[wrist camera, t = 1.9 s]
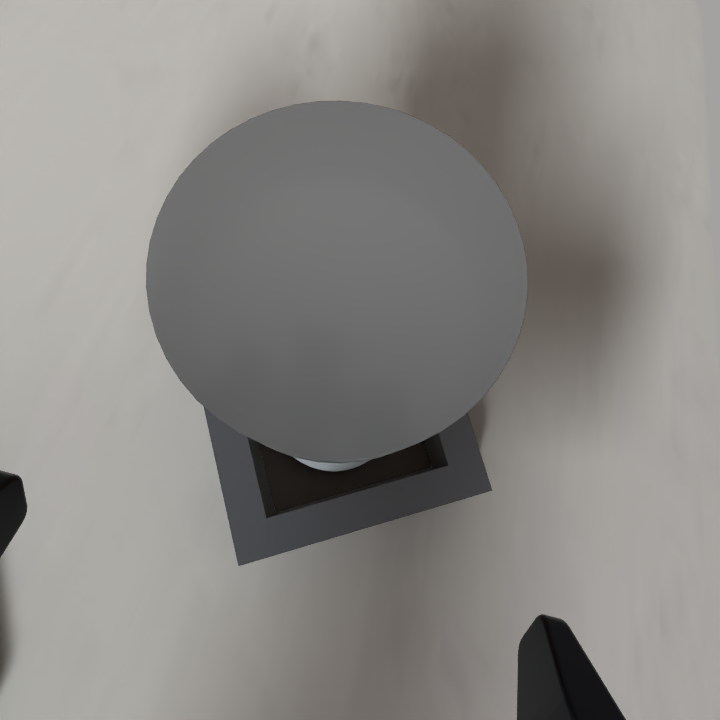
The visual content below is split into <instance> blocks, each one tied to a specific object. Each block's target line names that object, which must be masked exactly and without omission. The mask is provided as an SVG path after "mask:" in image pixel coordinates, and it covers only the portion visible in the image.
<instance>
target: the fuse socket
mask: <svg viewBox="0 0 720 720" xmlns="http://www.w3.org/2000/svg"><path fill="white" fill-rule="evenodd" d="M204 410H205V415H206V419H207V424H208V428H209V433H210V437H211V442H212V447H213V451H214V456H215V460H216V465H217V469H218V474H219V479H220V483H221V488H222V492H223V497H224V501H225V506H226V511H227V515H228V520H229V524H230V529H231V533H232V538H233V543H234V547H235V552H236V556H237V561H238V566H240V565H244V564H247V563H250V562H254V561H257V560H260V559H264V558H267V557H270V556H274V555H277V554H280V553H284V552H287V551H291V550H294V549H297V548H301V547H304V546H307V545H311V544H314V543H317V542H321V541H324V540H327V539H331V538H334V537H337V536H341V535H344V534H348V533H351V532H354V531H358V530H361V529H364V528H368V527H371V526H374V525H378V524H381V523H384V522H388V521H391V520H394V519H398V518H401V517H405V516H408V515H411V514H415V513H418V512H421V511H425V510H428V509H431V508H435V507H438V506H441V505H445V504H448V503H451V502H455V501H458V500H462V499H465V498H468V497H472V496H475V495H478V494H482V493H485V492H488V491H492V488H491V485H490V482H489V479H488V476H487V473H486V470H485V466H484V463H483V460H482V457H481V454H480V451H479V448H478V445H477V442H476V438H475V435H474V432H473V429H472V426H471V423H470V420H469V417H468V413H466V414H465V415H464V416H463V417H461V418H460V419H458V420H457V421H456V422H454V423H453V424H451V425H450V426H448V427H447V428H446V429H444V430H443V431H441V432H439V433H437V434H435V435H433V436H431V437H429V438H428V439H426V440H424V442H425V445H426V448H427V452H428V455H429V458H430V462H431V465H432V467H431V468H427V469H424V470H420V471H417V472H413V473H410V474H407V475H403V476H400V477H396V478H393V479H389V480H386V481H382V482H379V483H375V484H372V485H369V486H365V487H362V488H358V489H355V490H351V491H348V492H344V493H341V494H337V495H334V496H330V497H327V498H324V499H320V500H317V501H313V502H310V503H306V504H303V505H299V506H296V507H292V508H289V509H286V510H282V511H279V512H275V507H274V503H273V499H272V495H271V491H270V486H269V482H268V478H267V474H266V469H265V465H264V461H263V457H262V453H261V448H260V444H259V442H257V441H255V440H253V439H251V438H249V437H247V436H245V435H243V434H241V433H239V432H237V431H236V430H234V429H233V428H231V427H230V426H228V425H227V424H225V423H224V422H222V421H221V420H219V419H218V418H216V417H215V416H214V415H213V414H212V413H211V412H210V411H208V410H207V409H206V408H205V407H204Z"/></svg>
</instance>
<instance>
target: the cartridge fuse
mask: <svg viewBox="0 0 720 720" xmlns="http://www.w3.org/2000/svg"><path fill="white" fill-rule="evenodd" d="M146 289H147V297H148V304H149V312H150V315H151V319H152V322H153V326H154V330H155V333H156V336H157V339H158V341H159V343H160V345H161V348H162V350H163V352H164V354H165V357H166V359H167V360H168V362H169V363H170V365H171V367H172V368H173V370H174V371H175V373H176V375H177V376H178V378H179V379H180V381H181V382H182V383H183V384H184V386H185V387H186V388H187V389H188V390H189V391H190V393H191V394H192V395H193V396H194V397H195V399H196V400H197V401H198V402H200V403H201V404H202V405H203V406H204V407H205V408H206V409H207V410H208V411H210V412H211V413H212V414H213V415H214V416H215V417H216V418H218V419H219V420H221V421H222V422H224V423H225V424H227V425H228V426H230V427H231V428H233V429H234V430H236V431H237V432H239V433H241V434H243V435H245V436H247V437H249V438H251V439H253V440H255V441H257V442H259V443H261V444H263V445H265V446H267V447H269V448H272V449H274V450H276V451H278V452H280V453H283V454H286V455H289V456H292V457H294V458H295V459H297V460H298V461H300V462H301V463H303V464H306V465H308V466H310V467H312V468H315V469H318V470H323V471H332V472H336V471H345V470H349V469H352V468H355V467H358V466H360V465H362V464H364V463H366V462H368V461H369V460H371V459H376V458H380V457H383V456H385V455H388V454H391V453H394V452H397V451H399V450H402V449H404V448H407V447H410V446H412V445H415V444H417V443H420V442H422V441H424V440H426V439H428V438H429V437H431V436H433V435H435V434H437V433H439V432H441V431H443V430H444V429H446V428H447V427H448V426H450V425H451V424H453V423H454V422H456V421H457V420H458V419H460V418H461V417H463V416H464V415H465V414H466V413H467V412H468V411H469V410H470V409H471V408H472V407H473V406H474V405H476V404H477V403H478V402H479V401H480V400H481V399H482V398H483V396H484V395H485V394H486V393H487V392H488V390H489V389H490V388H491V387H492V385H493V384H494V383H495V382H496V380H497V379H498V377H499V376H500V374H501V372H502V371H503V369H504V367H505V366H506V364H507V362H508V361H509V359H510V357H511V354H512V352H513V350H514V347H515V345H516V342H517V340H518V338H519V334H520V331H521V327H522V323H523V319H524V316H525V309H526V301H527V293H528V279H527V263H526V256H525V250H524V244H523V241H522V237H521V234H520V231H519V227H518V224H517V221H516V219H515V217H514V215H513V212H512V210H511V208H510V206H509V203H508V202H507V200H506V198H505V197H504V195H503V193H502V192H501V190H500V188H499V187H498V185H497V183H496V182H495V181H494V180H493V178H492V177H491V176H490V175H489V173H488V172H487V171H486V169H485V168H484V167H483V166H482V165H481V164H480V163H479V162H478V161H477V160H476V159H475V158H474V157H473V156H472V155H471V154H470V153H469V152H468V151H467V150H466V149H465V148H464V147H462V146H461V145H460V144H458V143H457V142H456V141H454V140H453V139H452V138H451V137H449V136H448V135H446V134H445V133H443V132H441V131H440V130H438V129H436V128H435V127H433V126H431V125H430V124H428V123H426V122H424V121H421V120H419V119H417V118H415V117H413V116H410V115H408V114H405V113H402V112H399V111H396V110H393V109H390V108H387V107H382V106H377V105H372V104H367V103H361V102H349V101H317V102H310V103H303V104H296V105H291V106H288V107H284V108H280V109H276V110H272V111H270V112H267V113H265V114H262V115H260V116H257V117H255V118H252V119H250V120H248V121H246V122H244V123H242V124H240V125H239V126H237V127H235V128H233V129H231V130H230V131H228V132H227V133H225V134H224V135H223V136H221V137H220V138H218V139H217V140H215V141H214V142H213V143H211V144H210V145H209V146H208V147H207V148H206V149H205V150H204V151H203V152H201V153H200V154H199V155H198V156H197V157H196V158H195V159H194V160H193V161H192V162H191V164H190V165H189V166H188V167H187V168H186V170H185V171H184V172H183V173H182V174H181V176H180V177H179V178H178V180H177V181H176V183H175V184H174V186H173V188H172V189H171V191H170V192H169V194H168V195H167V197H166V199H165V202H164V204H163V206H162V208H161V210H160V212H159V215H158V217H157V220H156V223H155V226H154V229H153V233H152V236H151V239H150V245H149V251H148V258H147V271H146Z"/></svg>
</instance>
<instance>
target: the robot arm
mask: <svg viewBox="0 0 720 720" xmlns="http://www.w3.org/2000/svg"><path fill="white" fill-rule="evenodd" d="M26 513H27V503H26V498H25V492H24V487H23V482H22V479H21V478H20V477H19V476H18V475H15V474H12V473H8V472H4V471H0V557H1V556H2V554H3V553H4V551H5V549H6V548H7V546H8V545H9V543H10V542H11V540H12V538H13V537H14V535H15V534H16V532H17V530H18V529H19V527H20V526H21V524H22V522H23V520H24V518H25V516H26ZM517 720H626V719H625V717H624V716H623V714H622V712H621V711H620V709H619V708H618V706H617V704H616V703H615V701H614V699H613V698H612V696H611V694H610V693H609V691H608V690H607V688H606V686H605V685H604V683H603V681H602V680H601V678H600V676H599V675H598V673H597V672H596V670H595V668H594V667H593V665H592V663H591V662H590V660H589V658H588V657H587V655H586V654H585V652H584V650H583V649H582V647H581V645H580V644H579V642H578V640H577V639H576V637H575V635H574V634H573V632H572V631H571V629H570V627H569V626H568V624H567V623H566V622H565V621H563V620H561V619H559V618H555V617H551V616H547V615H543V614H542V615H539V616H538V617H537V618H536V619H535V620H534V622H533V623H532V625H531V626H530V627H529V629H528V630H527V632H526V633H525V634H524V636H523V637H522V639H521V641H520V644H519V650H518V691H517Z"/></svg>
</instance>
